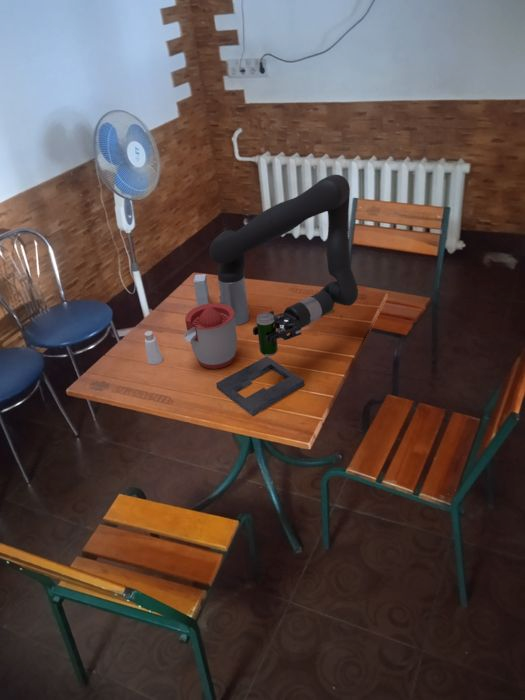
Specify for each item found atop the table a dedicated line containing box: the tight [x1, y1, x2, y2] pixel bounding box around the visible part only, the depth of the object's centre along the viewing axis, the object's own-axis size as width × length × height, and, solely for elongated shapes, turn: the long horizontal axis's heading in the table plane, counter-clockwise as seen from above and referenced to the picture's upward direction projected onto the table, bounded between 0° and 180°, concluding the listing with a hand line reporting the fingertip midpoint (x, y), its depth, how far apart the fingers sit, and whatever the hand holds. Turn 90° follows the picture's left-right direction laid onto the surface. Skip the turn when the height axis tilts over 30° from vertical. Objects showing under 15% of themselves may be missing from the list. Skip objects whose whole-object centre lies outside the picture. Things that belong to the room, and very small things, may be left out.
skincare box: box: [193, 273, 211, 307], centre depth 213 cm, size 6×4×12 cm
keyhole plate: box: [215, 356, 305, 417], centre depth 170 cm, size 20×18×2 cm
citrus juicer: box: [183, 302, 238, 370], centre depth 179 cm, size 16×17×20 cm
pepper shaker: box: [143, 330, 164, 366], centre depth 185 cm, size 5×5×11 cm
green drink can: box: [255, 312, 279, 357], centre depth 163 cm, size 5×5×12 cm
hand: (260, 335), depth 161 cm, fingers closed on green drink can, 5 cm apart
